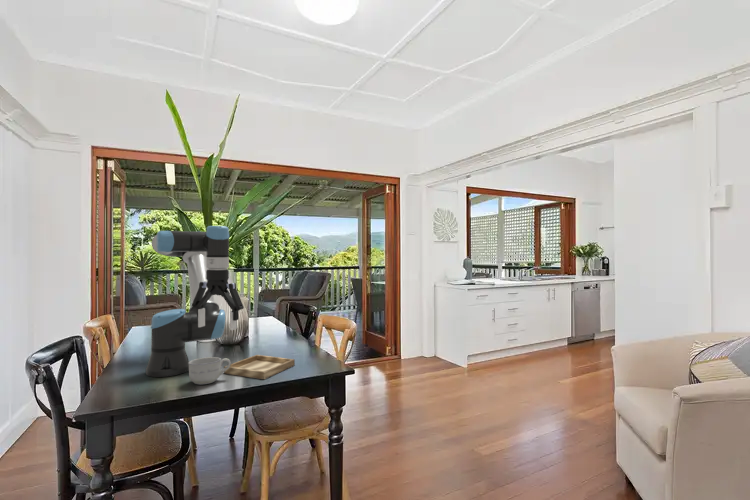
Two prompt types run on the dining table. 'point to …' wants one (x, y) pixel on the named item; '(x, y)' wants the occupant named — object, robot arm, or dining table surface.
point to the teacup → (206, 369)
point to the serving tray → (260, 366)
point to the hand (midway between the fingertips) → (217, 328)
